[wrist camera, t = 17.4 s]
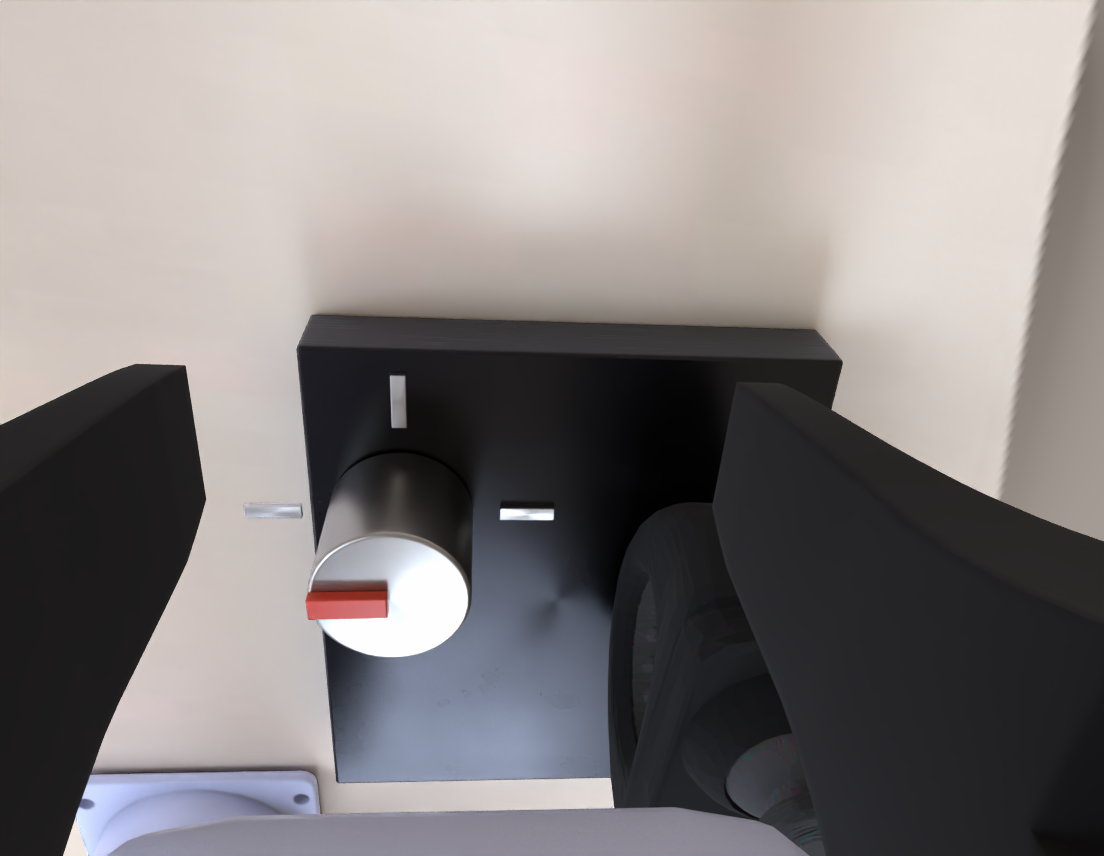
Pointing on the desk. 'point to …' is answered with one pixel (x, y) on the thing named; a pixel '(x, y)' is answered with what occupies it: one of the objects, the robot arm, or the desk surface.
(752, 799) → the controller
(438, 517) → the knob
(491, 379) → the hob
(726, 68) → the desk surface
